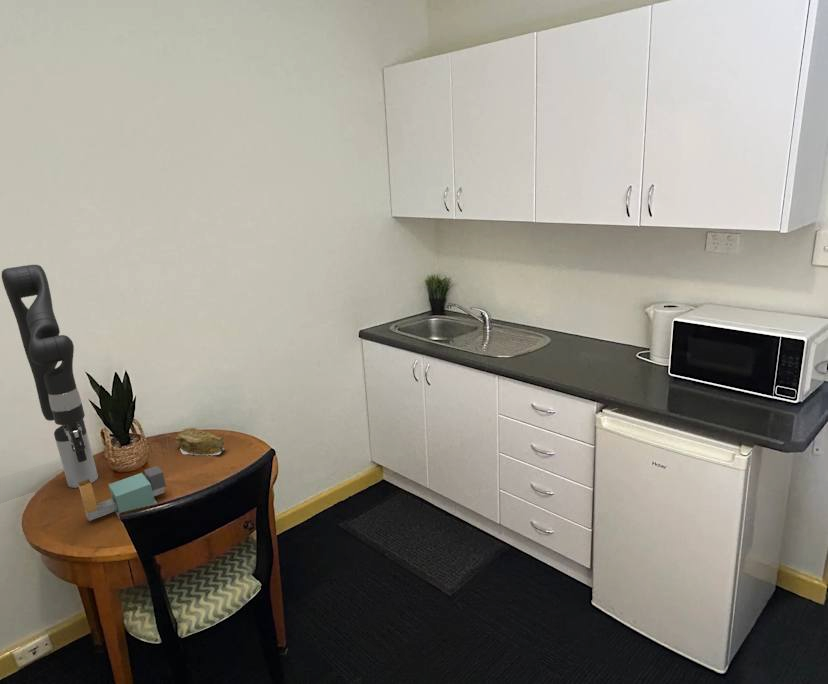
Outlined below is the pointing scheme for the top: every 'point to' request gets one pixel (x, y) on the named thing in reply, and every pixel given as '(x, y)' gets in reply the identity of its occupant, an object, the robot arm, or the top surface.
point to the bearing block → (132, 493)
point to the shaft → (103, 507)
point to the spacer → (155, 477)
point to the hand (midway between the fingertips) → (79, 455)
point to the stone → (199, 442)
